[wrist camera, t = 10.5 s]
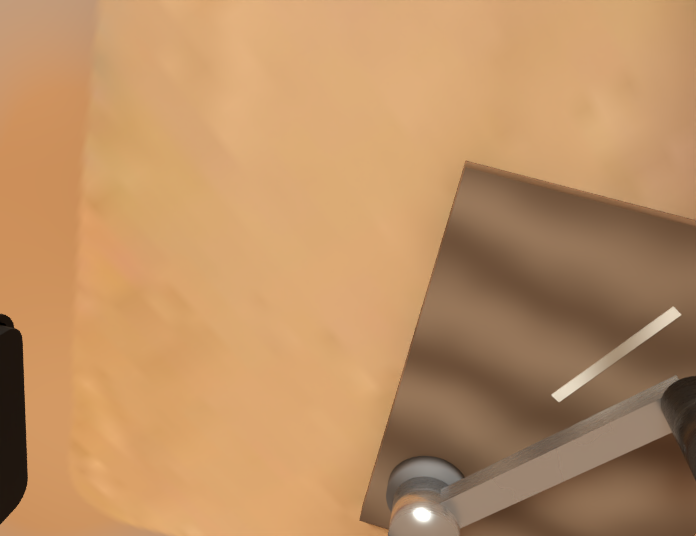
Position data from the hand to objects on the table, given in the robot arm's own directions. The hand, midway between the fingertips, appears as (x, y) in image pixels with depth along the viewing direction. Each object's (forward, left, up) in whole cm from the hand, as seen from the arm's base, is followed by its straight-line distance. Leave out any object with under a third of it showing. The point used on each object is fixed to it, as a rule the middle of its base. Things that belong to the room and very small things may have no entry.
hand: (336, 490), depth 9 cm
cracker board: (+13, +11, -27) cm, 32 cm away
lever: (+15, +10, -25) cm, 30 cm away
